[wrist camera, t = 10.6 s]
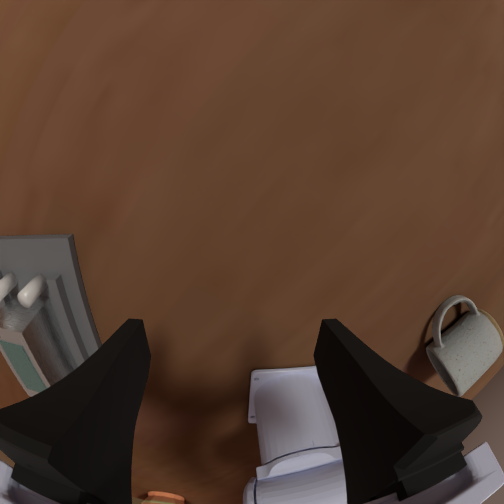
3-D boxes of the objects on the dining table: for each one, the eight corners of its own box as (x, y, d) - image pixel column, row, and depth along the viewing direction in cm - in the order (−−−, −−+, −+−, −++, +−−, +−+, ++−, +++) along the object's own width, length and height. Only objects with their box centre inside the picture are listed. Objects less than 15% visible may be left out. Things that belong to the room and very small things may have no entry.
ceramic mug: (476, 326, 27) (508, 361, 20) (431, 365, 28) (458, 406, 21) (467, 274, 23) (512, 312, 16) (412, 323, 25) (451, 372, 17)
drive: (79, 370, 23) (63, 407, 18) (46, 363, 22) (28, 396, 17) (49, 297, 19) (21, 333, 14) (14, 293, 18) (-14, 325, 14)
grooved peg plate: (125, 401, 26) (118, 427, 22) (44, 384, 25) (34, 405, 21) (72, 234, 18) (47, 255, 14) (-17, 236, 17) (-40, 253, 13)
